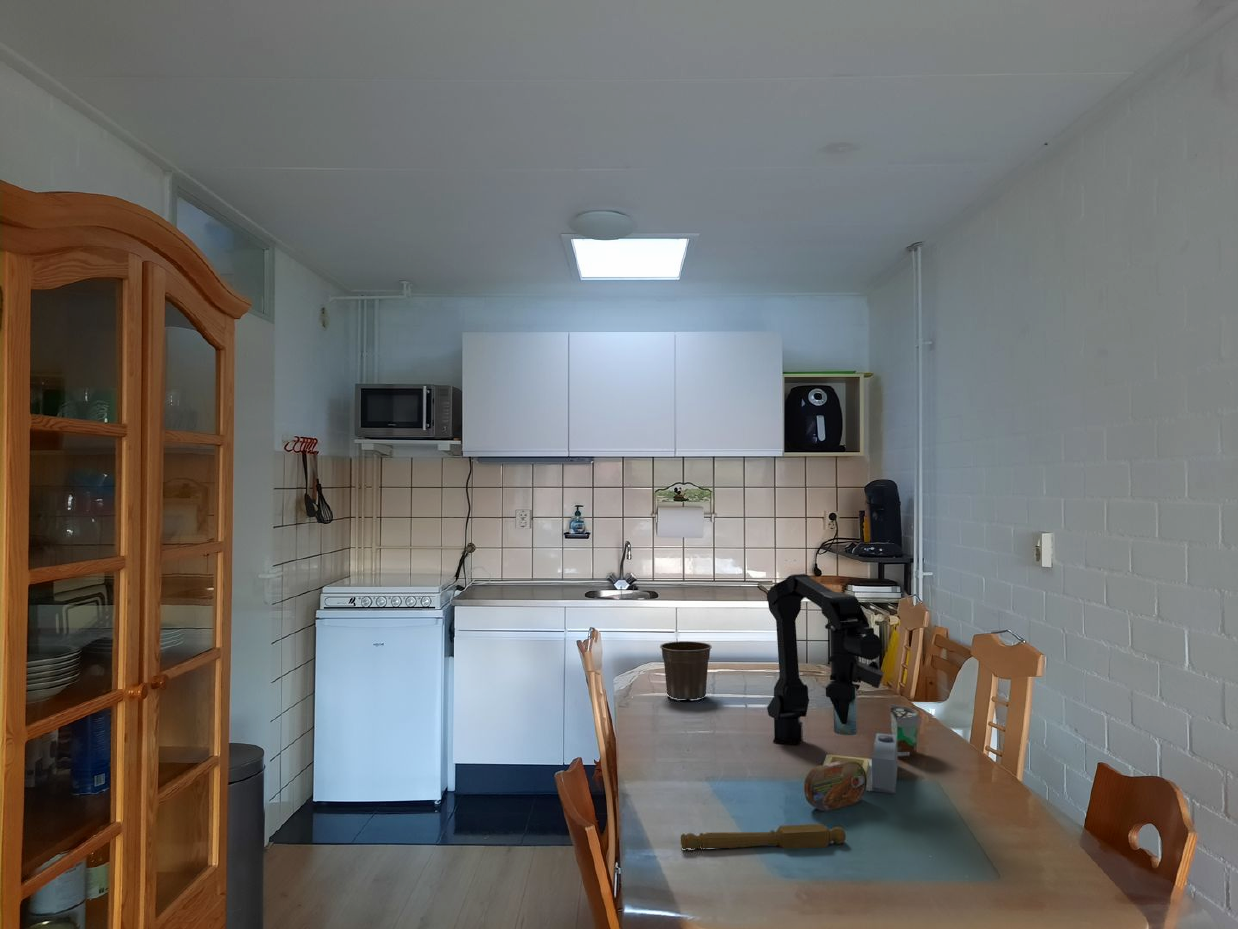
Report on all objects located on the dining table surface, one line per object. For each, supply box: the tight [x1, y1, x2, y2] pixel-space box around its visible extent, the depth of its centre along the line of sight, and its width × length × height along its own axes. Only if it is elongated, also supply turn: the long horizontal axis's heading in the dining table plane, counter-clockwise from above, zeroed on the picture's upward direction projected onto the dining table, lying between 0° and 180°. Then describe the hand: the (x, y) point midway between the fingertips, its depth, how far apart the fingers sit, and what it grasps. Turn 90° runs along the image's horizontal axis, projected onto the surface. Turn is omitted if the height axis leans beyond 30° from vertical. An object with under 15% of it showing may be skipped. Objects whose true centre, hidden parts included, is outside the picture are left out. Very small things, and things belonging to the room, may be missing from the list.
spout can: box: [833, 696, 858, 736], centre depth 175 cm, size 5×5×10 cm
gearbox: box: [822, 732, 899, 795], centre depth 173 cm, size 16×18×8 cm
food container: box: [889, 704, 921, 760], centre depth 187 cm, size 12×6×10 cm, turn 168°
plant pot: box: [659, 640, 712, 699], centre depth 243 cm, size 16×16×16 cm
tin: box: [803, 760, 867, 813], centre depth 157 cm, size 15×3×8 cm, turn 117°
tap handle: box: [680, 823, 847, 850], centre depth 139 cm, size 3×3×30 cm
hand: (845, 720), depth 175 cm, fingers closed on spout can, 5 cm apart
